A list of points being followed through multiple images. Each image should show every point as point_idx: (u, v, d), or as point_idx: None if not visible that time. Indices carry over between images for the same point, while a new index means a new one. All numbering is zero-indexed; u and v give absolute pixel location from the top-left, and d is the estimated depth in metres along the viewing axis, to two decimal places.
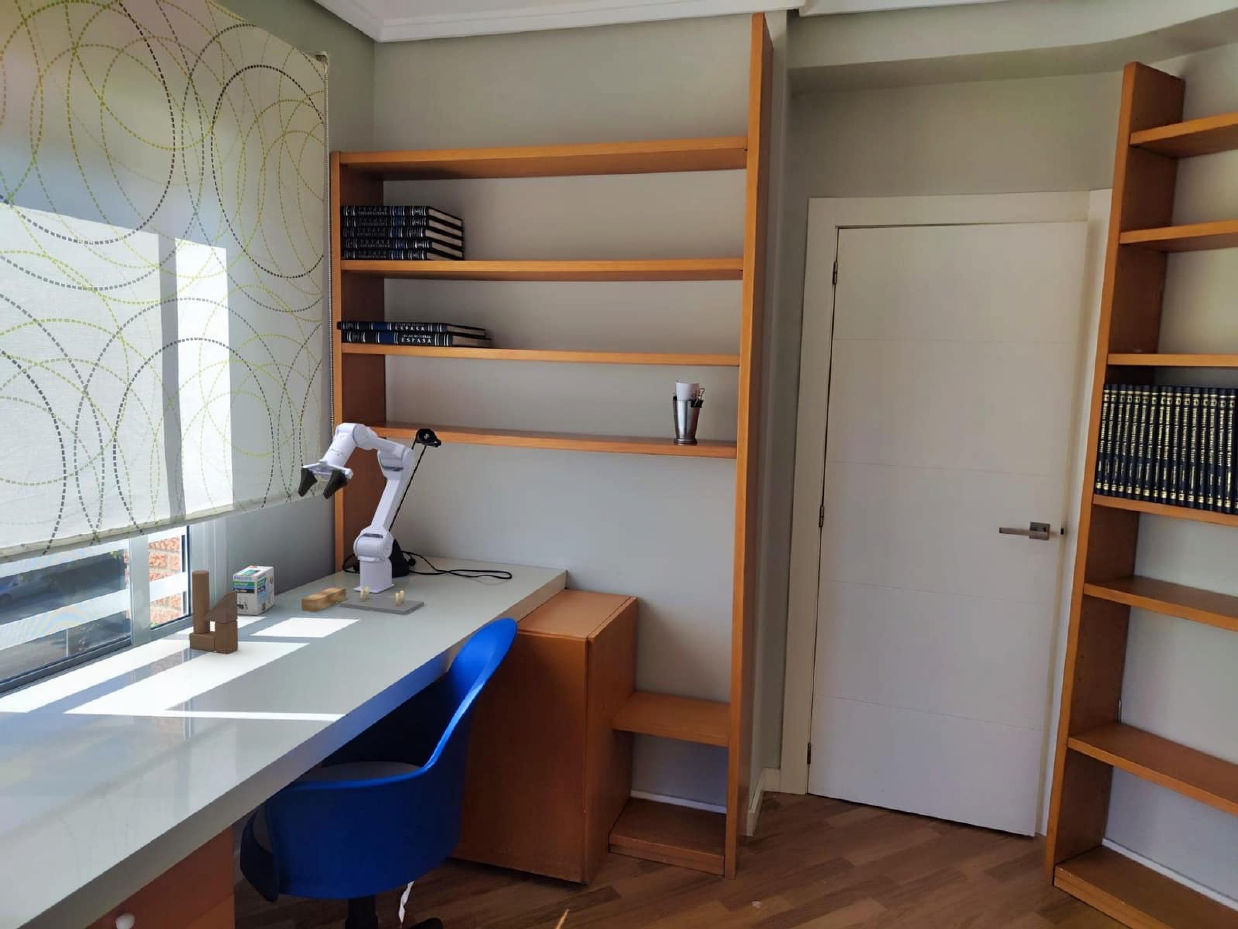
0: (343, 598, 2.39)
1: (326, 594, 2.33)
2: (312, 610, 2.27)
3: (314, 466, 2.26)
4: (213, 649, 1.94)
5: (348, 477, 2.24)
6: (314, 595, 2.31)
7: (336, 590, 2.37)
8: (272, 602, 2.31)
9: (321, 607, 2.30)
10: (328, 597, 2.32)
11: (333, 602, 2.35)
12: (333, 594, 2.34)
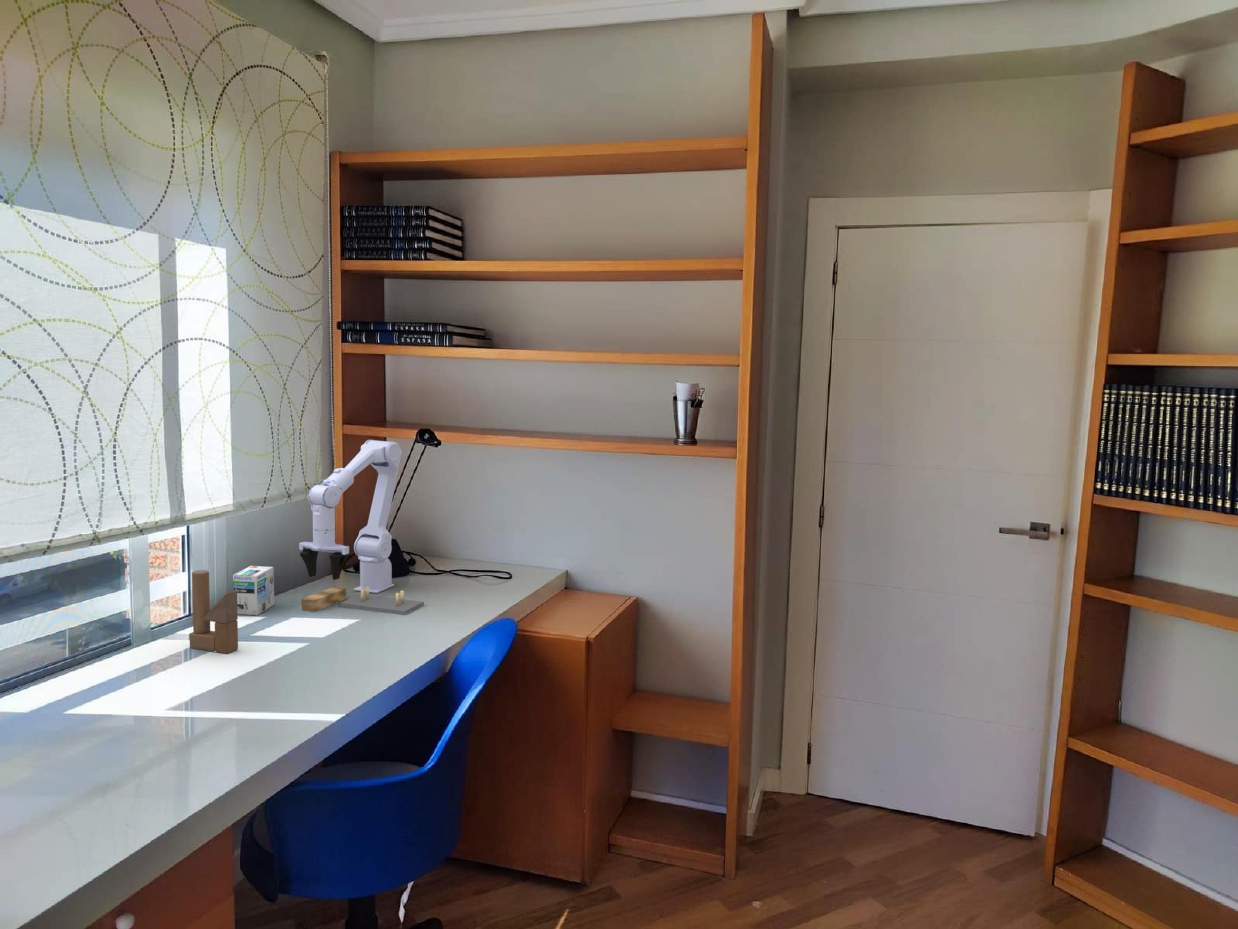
0: (343, 598, 2.39)
1: (326, 594, 2.33)
2: (311, 610, 2.27)
3: (310, 547, 2.31)
4: (213, 649, 1.94)
5: (346, 553, 2.31)
6: (314, 595, 2.31)
7: (336, 590, 2.37)
8: (272, 602, 2.31)
9: (321, 607, 2.29)
10: (327, 597, 2.32)
11: (333, 602, 2.34)
12: (333, 594, 2.34)
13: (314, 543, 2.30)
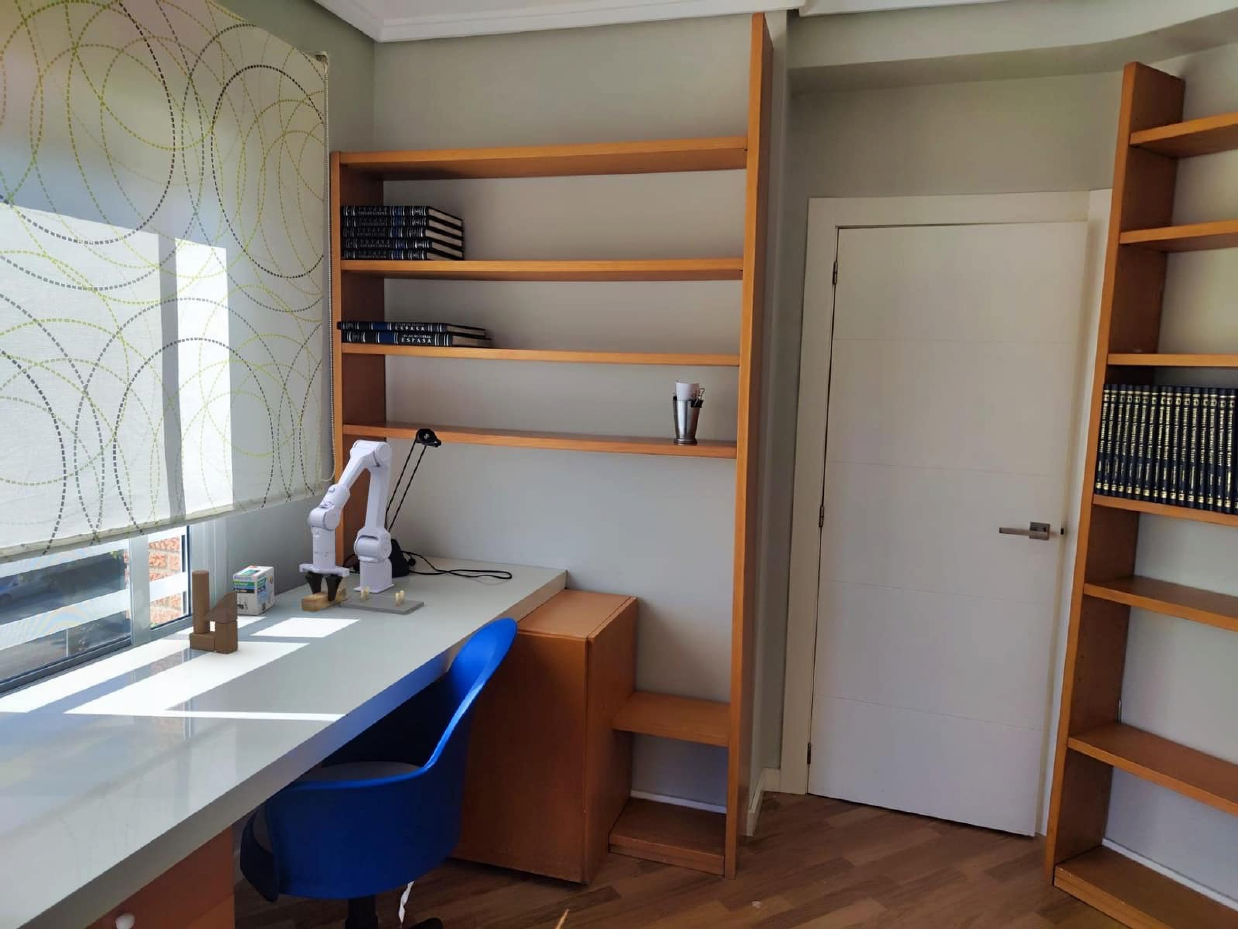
0: (343, 598, 2.39)
1: (326, 594, 2.33)
2: (311, 610, 2.27)
3: None
4: (213, 649, 1.94)
5: (346, 575, 2.31)
6: (314, 595, 2.31)
7: None
8: (272, 602, 2.31)
9: (321, 607, 2.29)
10: (327, 596, 2.32)
11: (333, 602, 2.34)
12: None
13: (314, 565, 2.31)
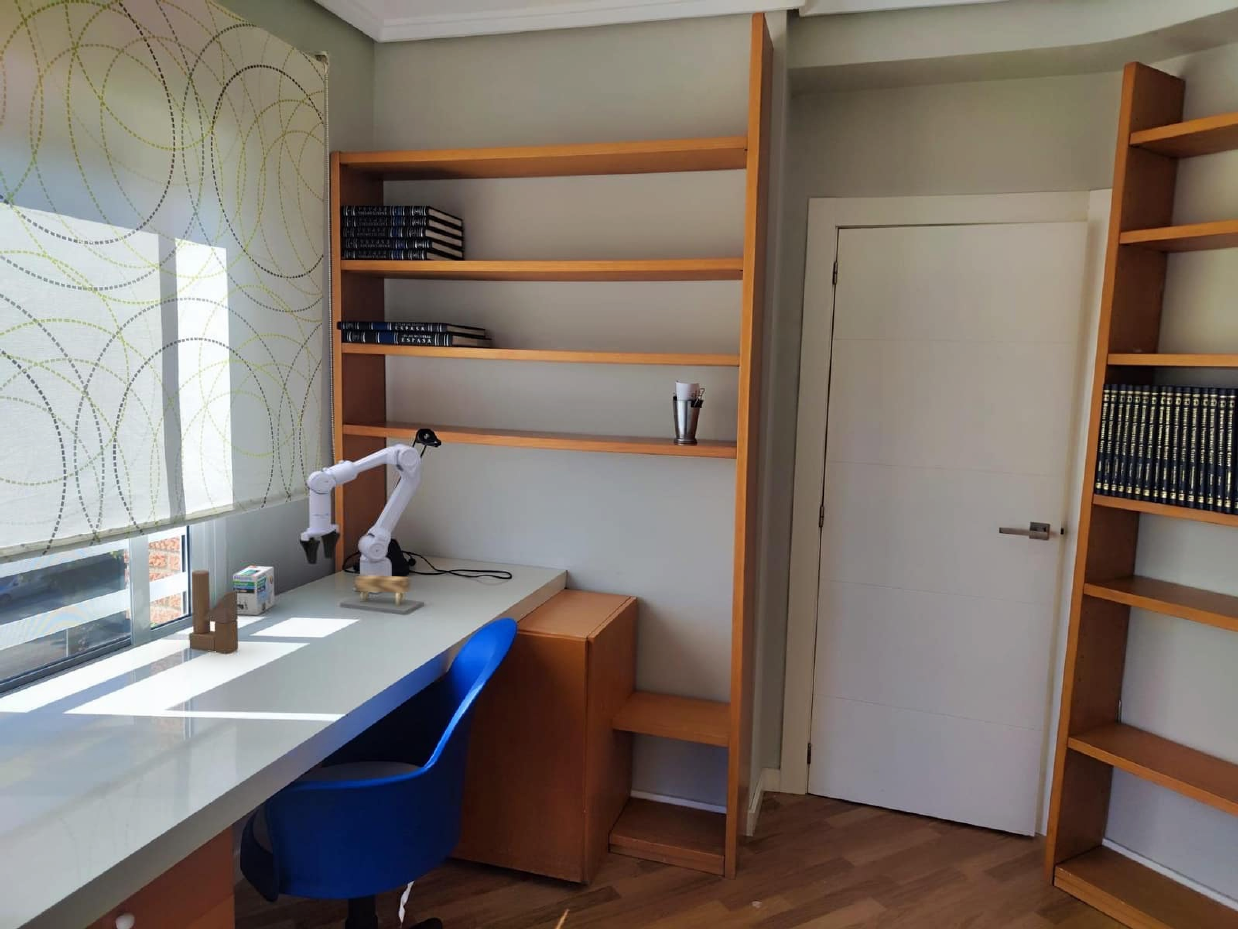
0: (400, 590, 2.31)
1: (378, 578, 2.32)
2: None
3: None
4: (213, 649, 1.94)
5: None
6: (374, 576, 2.35)
7: (394, 579, 2.32)
8: (272, 602, 2.31)
9: (365, 588, 2.32)
10: (375, 581, 2.32)
11: (384, 589, 2.32)
12: (384, 581, 2.32)
13: None
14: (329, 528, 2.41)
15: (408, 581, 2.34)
